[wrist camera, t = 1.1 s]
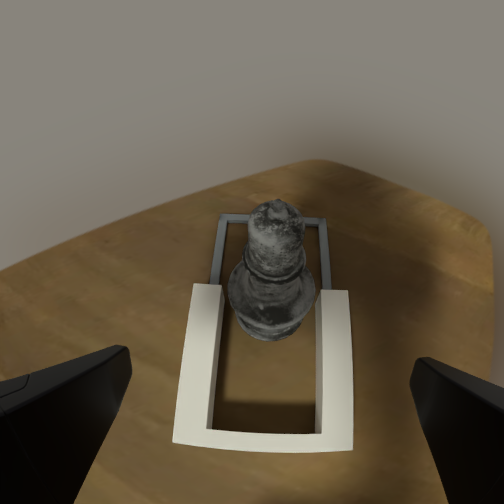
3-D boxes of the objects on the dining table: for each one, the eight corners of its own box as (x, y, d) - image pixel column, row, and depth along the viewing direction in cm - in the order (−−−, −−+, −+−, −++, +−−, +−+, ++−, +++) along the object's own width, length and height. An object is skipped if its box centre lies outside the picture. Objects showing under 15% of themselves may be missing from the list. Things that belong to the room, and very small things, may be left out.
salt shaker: (273, 262, 26) (281, 143, 16) (323, 312, 24) (368, 207, 14) (215, 303, 24) (187, 194, 14) (265, 360, 22) (272, 283, 12)
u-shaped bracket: (342, 448, 18) (352, 449, 16) (181, 441, 18) (172, 442, 16) (339, 304, 24) (347, 290, 22) (199, 298, 24) (194, 283, 22)
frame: (330, 296, 24) (331, 294, 24) (209, 290, 25) (208, 288, 24) (325, 221, 28) (325, 218, 28) (220, 216, 29) (220, 213, 29)
